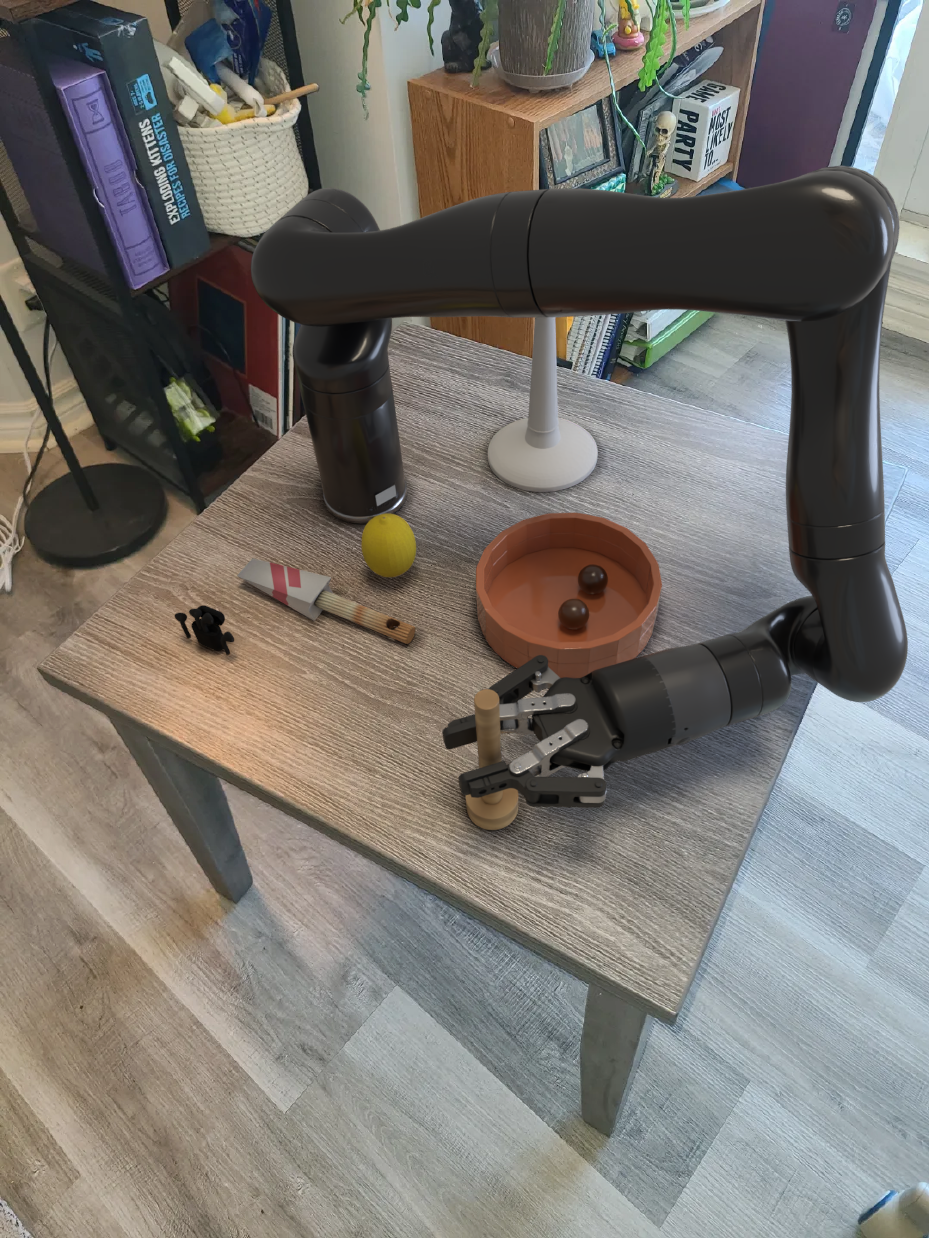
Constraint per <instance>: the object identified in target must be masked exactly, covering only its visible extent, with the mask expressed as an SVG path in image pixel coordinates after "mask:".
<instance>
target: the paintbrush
mask: <svg viewBox="0 0 929 1238" xmlns="http://www.w3.org/2000/svg"><path fill="white" fill-rule="evenodd" d="M236 577H238V578H240V579H241V580H243V581H245V582H246V583H248V584H250V585H251V586H253V587H255V588H256V589H258V590H260V591H262V592H263V593H265V594H267V595H269V596H270V597H272V598H273V599H275V600H277V601H279V602H281V603H282V604H284V605H286V606H288V607H289V608H291V609H293V610H295V611H296V612H298V613H299V614H301V615H303V616H305V617H306V618H308V619H310V620H312V621H313V622H315V621H316V620H317V618H318V617H319V616H320V615H321V613H322V612H323V611H325V612H328V613H330V614H333V615H336V616H338V617H341V618H344V619H346V620H348V621H351V622H353V623H355V624H358V625H360V626H363V627H364V628H366V629H367V628H368V629H370V630H372V631H374V632H377V633H380V634H381V635H384V636H387V637H388V638H391V639H394V640H396V641H399V642H401V643H403V644H405V645H406V644H407V645H408V644H410V643H411V642H412V641H413V639H414V638H415V636H416V627H415V626H414V625H412V624H410V623H407V622H404V621H403V620H400V619H396V618H395V617H392V616H390V615H387V614H385V613H382V612H380V611H377V610H374V609H372V608H369V607H367V606H364V605H362V604H359V603H357V602H355V601H352V600H349V599H347V598H345V597H343V596H340V595H338V594H335V593H334V592H333V590H332V588H331V587H330V582H331V581H332V580H331V579H332V576H328V575H324V574H319V573H315V572H312V571H307V570H303V569H300V568H295V567H290V566H286V565H283V564H279V563H274V562H270V561H266V560H262V559H258V558H254V557H253V558H251V559H250V560H249V561H248V562H247V564H246V565H244V567H243V568H242V569H241V570H240V572H238V574H237V575H236ZM393 628H394V629H393Z"/></svg>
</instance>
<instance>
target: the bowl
mask: <svg viewBox="0 0 929 1238" xmlns="http://www.w3.org/2000/svg"><path fill="white" fill-rule="evenodd" d="M592 564H594V565H599V566H601V567H602V568H603V569H604V570H605V571H606V573H607V575H608V583H607V586H606V588H605V589H604V590H603V591H602V592H600V593H598V594H594V595H591V594H587V593H585V592H584V591H582V590H581V588H580V587H579V585H578V575H579V572H580V571H581V570H582V569H583V568H584V567H585V566H587V565H592ZM662 589H663V580H662V576H661V570H660V565H659V562H658V560H657V559H656V558H655V556H654V554H653V552H652V551H651V549H650V547H649V546H648V545H647V543H646V542H645V541H643V540H642V539H641V538H639V537H638V535H636V534H635V533H634V532H632V531H631V530H630V529H629V528H627V527H625V526H623V525H621V524H619V523H616V522H614V521H612V520H609V519H608V518H605V517H602V516H597V515H592V514H586V513H581V512H548V513H544V514H540V515H536V516H532V517H528V518H525V519H524V518H523V519H522V520H520V521H518V522H516V523H514V524H512V525H511V526H509V527H508V528H505V529H504V530H502V531H501V532H499V534H497V535H496V536H495V538H493V540H491V542H489V544H488V545H486V546H485V548H484V550H483V551H482V553H481V556H480V559H479V561H478V563H477V565H476V568H475V594H476V612H477V613H476V615H477V620H478V622H479V628H480V631H481V632H482V635H483V637H484V638H485V641H486V642H487V643H488V646H490V647H491V649H492V650H493V651H494V652H495V654H496V655H498V656H499V657H500V658H501V659H502V660H504V661H505V662H506V663H508V664H509V665H511V666H512V667H514V668H516V669H518V668H519V667H521V666H522V665H524V664H525V663H527V662H528V661H530V660H531V659H533V658H534V657H536V656H538V655H544V656H546V657H547V659H548V667H549V668H550V669H551V670H552V671H553V672H554V673H555V674H557V675H558V676H559V677H560V678H563V677H569V678H581V677H584V676H586V675H587V674H589V673H591V672H592V671H594V670H597V669H600V668H604V667H607V666H611V665H614V664H617V663H621V662H624V661H628V660H631V659H635V658H637V657H638V656H639V655H640V653H642V651H643V650H644V649H645V647H646V646H647V645H648V643H649V641H650V639H651V637H652V635H653V632H654V629H655V623H656V619H657V617H658V611H659V605H660V599H661V595H662ZM569 599H579V600H581V601H583V602H584V603H585V604H586V605H587V607H588V609H589V619H588V622H587V623H586V624H585V625H584V626H583V627H582V628H580V629H576V630H571V629H568V628H566V627H564V626H563V625H562V624H561V622H560V621H559V618H558V611H559V608H560V606H561V605H562V603H564V602H565V601H566V600H569Z"/></svg>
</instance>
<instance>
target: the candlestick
mask: <svg viewBox="0 0 929 1238" xmlns="http://www.w3.org/2000/svg"><path fill="white" fill-rule="evenodd" d="M533 327H534V328H533V341H532V342H533V343H532V357H531V370H530V371H531V373H530V386H529V398H528V399H529V401H528V416H527V417H523V418H521V419H518V420H515V421H512V422H510V423H508V424H507V425H505V426H503V427H502V428H501V429H499V430H498V431H497V432H496V433H495V434H494V435H493V436H492V438H491V439H490V441H489V444H488V447H487V461H488V465H489V468H490V470H491V471H492V472H493V474H494V475H495V476H496V477H497V478H498V479H499V480H500V481H502V482H504V483H505V484H507V485H509V486H511V487H514V488H516V489H519V490H523V491H528V492H533V493H534V492H535V493H549V492H550V493H551V492H557V491H562V490H566V489H569V488H571V487H574V486H576V485H578V484H580V483H581V482H583V481H584V480H586V479H587V478H588V477H589V476H590V475H591V474H592V472H593V471H594V469H595V468H596V465H597V462H598V455H599V451H598V449H599V448H598V445H597V442H596V440H595V439H594V437H593V436H592V434H591V433H590V432H589V431H588V430H587V429H585V428H584V427H583V426H581V425H580V424H577V423H576V422H573V421H572V420H568V419H566V418H562V417H559V407H558V405H559V403H558V402H559V401H558V368H557V362H558V361H557V328H556V327H557V326H556V317H554V318H551V317H550V318H534V326H533Z"/></svg>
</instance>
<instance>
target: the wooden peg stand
mask: <svg viewBox="0 0 929 1238" xmlns="http://www.w3.org/2000/svg"><path fill="white" fill-rule="evenodd" d="M473 705H474V706H473V707H474V714H475V720H476V734H477V742H476V747H477V759H478V761H477V762H478V768H482V767H485V766H488V765H492V764H495V763H498V762H501V761H502V740H501V739H502V737H501V735H502V734H500V706H499V696H498V694H497V693H496V692H495V691H493V690H490V689H489V688H484V689H481V690H479V691H478V692H476V694H475V695H474V698H473ZM465 805H466V812H467V815H468V818H469V819H470V820H471V822H472V823H473V824H475V825H476V826H477V827H479V828H481V829H483V830H487V831H496V830H501V829H504V828H506V827H508V826H509V825H510V824H512V822H513V821H514V820H516V817H517V815H518V813H519V791H518V790H516V789H513V788H509V789H505V790H502V791H499V792H496V793H492V794H489V795H485V796H483V797H479V798H473V797H471V795H470V794H469V795H465Z"/></svg>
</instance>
